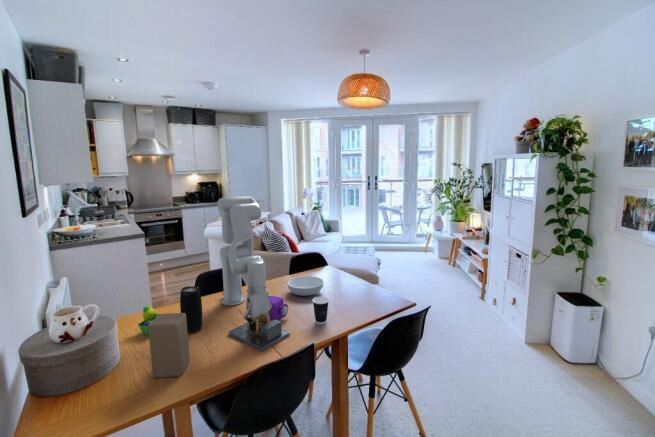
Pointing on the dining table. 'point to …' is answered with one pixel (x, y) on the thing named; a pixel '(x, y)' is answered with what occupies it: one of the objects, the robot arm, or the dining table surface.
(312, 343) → the dining table surface
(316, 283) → the serving bowl
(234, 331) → the plate
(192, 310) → the portable speaker
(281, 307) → the toy camera
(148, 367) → the dining table surface
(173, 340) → the wooden block
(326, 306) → the dixie cup
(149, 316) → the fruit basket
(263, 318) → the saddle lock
